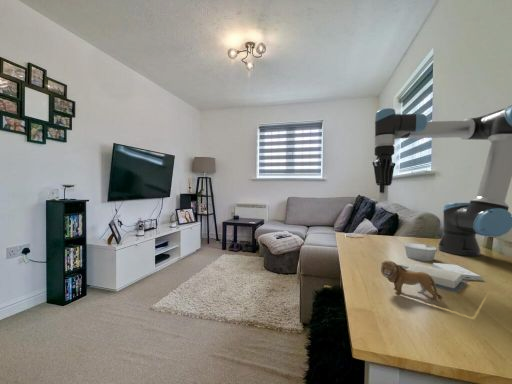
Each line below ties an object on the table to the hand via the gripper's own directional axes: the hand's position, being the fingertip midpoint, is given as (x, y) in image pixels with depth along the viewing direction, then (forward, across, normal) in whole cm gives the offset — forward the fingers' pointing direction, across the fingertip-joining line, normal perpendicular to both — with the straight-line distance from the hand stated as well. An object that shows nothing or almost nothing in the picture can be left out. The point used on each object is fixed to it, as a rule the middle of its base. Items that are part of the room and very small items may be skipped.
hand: (383, 200), depth 103 cm
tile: (+23, +13, +18) cm, 32 cm away
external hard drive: (+24, -2, +25) cm, 35 cm away
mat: (+24, +12, +22) cm, 35 cm away
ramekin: (+25, -12, +9) cm, 29 cm away
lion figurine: (+25, +30, +26) cm, 47 cm away
